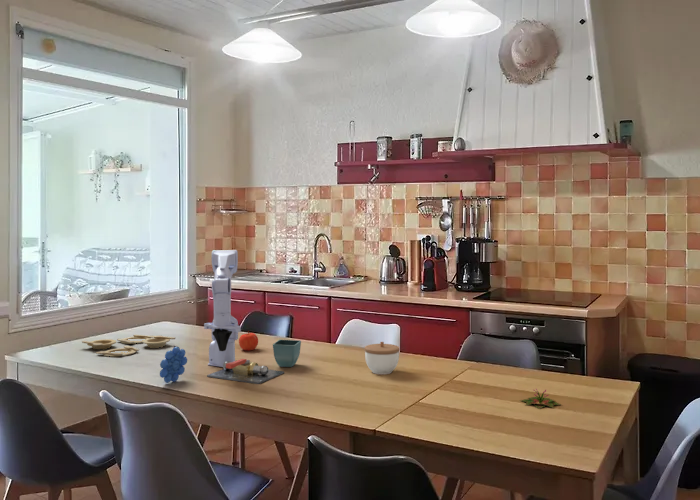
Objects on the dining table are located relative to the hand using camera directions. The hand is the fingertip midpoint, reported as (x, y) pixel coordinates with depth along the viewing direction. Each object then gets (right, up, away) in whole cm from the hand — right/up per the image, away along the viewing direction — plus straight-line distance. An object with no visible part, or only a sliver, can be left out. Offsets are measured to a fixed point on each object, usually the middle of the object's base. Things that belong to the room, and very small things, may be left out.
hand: (222, 350), depth 220 cm
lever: (+6, -6, 0) cm, 8 cm away
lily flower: (+103, -12, -30) cm, 108 cm away
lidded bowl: (+57, -9, +7) cm, 58 cm away
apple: (+2, -7, +44) cm, 44 cm away
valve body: (+8, -9, +3) cm, 12 cm away
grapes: (-16, -10, -5) cm, 20 cm away
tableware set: (-51, -7, +49) cm, 71 cm away
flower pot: (+21, -9, +16) cm, 28 cm away
